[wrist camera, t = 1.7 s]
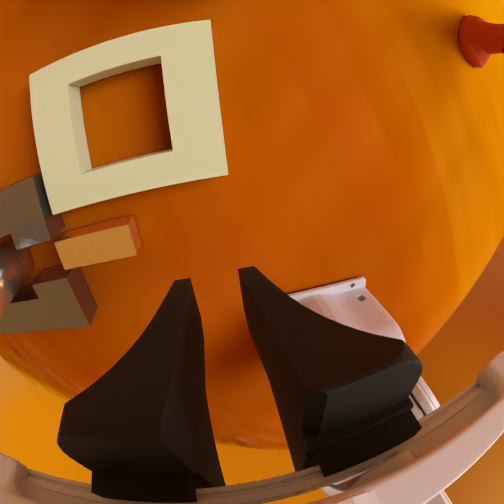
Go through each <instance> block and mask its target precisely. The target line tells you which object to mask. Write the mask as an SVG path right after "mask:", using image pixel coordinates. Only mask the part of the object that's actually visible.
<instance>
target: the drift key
mask: <svg viewBox="0 0 504 504" xmlns="http://www.w3.org/2000/svg"><path fill="white" fill-rule="evenodd" d="M54 244H55V247H56V249H57V252H58V254H59V257H60V260H61V262H62V264H63V267H64V269H65V270H67V269H72V268H77V267H81V266H86V265H91V264H96V263H101V262H106V261H111V260H115V259H120V258H125V257H131V256H136V255H137V254H138V251H139V248H140V246H141V241H140V237H139V234H138V230H137V227H136V223H135V219H134V215H132V216H128V217H123V218H119V219H115V220H110V221H106V222H102V223H98V224H94V225H90V226H86V227H82V228H79V229H75V230H71V231H67V232H64V233H63V234H62V235H61V236H60V237H59V238H58V239H57V240H56V241H55V242H54Z"/></svg>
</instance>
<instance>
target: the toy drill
mask: <svg viewBox="0 0 504 504" xmlns="http://www.w3.org/2000/svg"><path fill="white" fill-rule="evenodd" d="M459 43H460V47H461V49H462V52H463V53H464V55H465V57H466V58H467V60H468V61H469V62H470V63H471V64H472V65H473V66H475V67H479V68H482V67H483V66H484V64H485V63H486V61H487V60H488V58H489V57H490V55H491V54H497V53H504V24H493V23H488V22H485V21H484V20H483V19H482V18H480V17H477V16H472V15H468V16H465V17H464V18H463V20H462V22H461V25H460V29H459Z"/></svg>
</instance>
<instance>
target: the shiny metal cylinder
mask: <svg viewBox="0 0 504 504" xmlns="http://www.w3.org/2000/svg"><path fill="white" fill-rule="evenodd" d="M33 268H34V262H33V257H32V254H31V252H30V250H29V249H28V247H25V248H22V249H19V250H17V249H16V247H15V244H14V241H13V239H12V237H9V238H7V239H5V240H4V241H3V242H2V243H1V244H0V317H1V315H2V314H3V312H4V311H5V309H6V308H7V307H8V305H9V304H10V302H11V301H12V299H13V298H14V297H15V295H16V294H17V292H18V291H19V290H20V288H21V287H22V286H23V284H24V283H25V282H26V280H27V279H28V278H29V277H30V275H31V274H32V272H33Z"/></svg>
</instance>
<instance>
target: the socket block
mask: <svg viewBox="0 0 504 504" xmlns="http://www.w3.org/2000/svg"><path fill="white" fill-rule="evenodd" d="M64 227H65V224H64V221H63V218H62V215H61V213H58V214H55V215H53V214H52V210H51V207H50V204H49V200H48V196H47V193H46V189H45V185H44V181H43V176H42V172H41V173H38V174H36V175H33V176H31V177H29V178H26V179H24V180H22V181H20V182H17V183H15V184H13V185H11V186H9V187H7V188H5V189H3V190H1V191H0V238H1V237H4V236H7V235H9V234H11V236H12V239H13V241H14V244H15V247H16V249H17V250H19V249H22V248H25V247H29V246H32V245H35V244H39V243H42V242H46V241H49V240H52V239H53V238H54V237H55V236H56V235H57V234H58V233H59V232H60V231H61V230H62V229H63V228H64ZM96 309H97V305H96V303H95V300H94V298H93V296H92V294H91V292H90V289H89V287H88V285H87V283H86V280H85V278H84V276H83V273H82V271H81V268H80V267H77V268H72V269H67V270H65V269H64V267H63V264H62V265H58V266H53V267H49V268H45V269H44V270H43V271H42V272H41V273H40V275H39V276H38V277H37V279H36V280H35V281H34V283H33V284H32V285H31V286H26V287H21V288H20V290H19V291H18V292H17V294H16V295H15V297H14V298H13V299H12V301H11V302H10V304H9V305H8V307H7V308H6V309H5V311H4V312H3V314H2V315H1V317H0V334H7V333H22V332H35V331H46V330H57V329H67V328H76V327H85V326H90V325H91V323H92V320H93V317H94V315H95V312H96Z"/></svg>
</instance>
